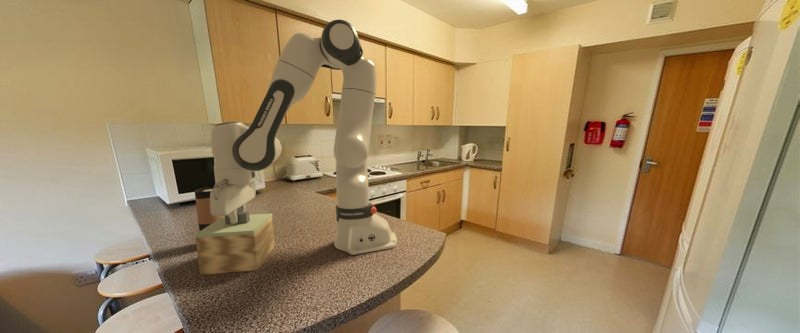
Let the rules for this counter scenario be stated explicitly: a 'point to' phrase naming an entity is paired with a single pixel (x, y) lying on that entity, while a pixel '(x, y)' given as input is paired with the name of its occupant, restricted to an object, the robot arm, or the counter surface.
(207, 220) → the travel mug
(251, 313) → the counter surface
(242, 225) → the lid
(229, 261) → the box
